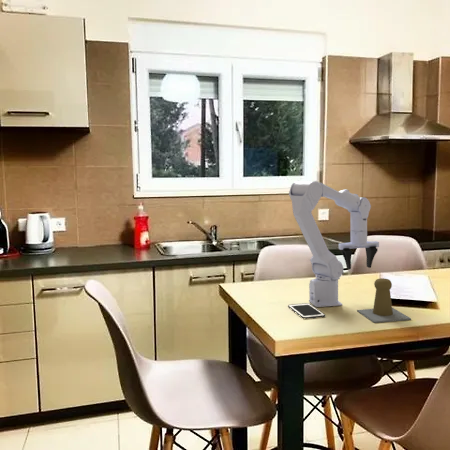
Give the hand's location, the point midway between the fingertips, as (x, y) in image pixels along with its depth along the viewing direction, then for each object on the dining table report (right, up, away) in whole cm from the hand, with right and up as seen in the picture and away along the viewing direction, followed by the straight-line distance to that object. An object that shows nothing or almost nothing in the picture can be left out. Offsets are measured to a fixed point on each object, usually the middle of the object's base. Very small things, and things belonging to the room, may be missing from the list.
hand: (358, 267), depth 171 cm
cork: (+2, -13, -21) cm, 24 cm away
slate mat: (+2, -13, -22) cm, 25 cm away
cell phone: (-22, -14, -15) cm, 30 cm away
